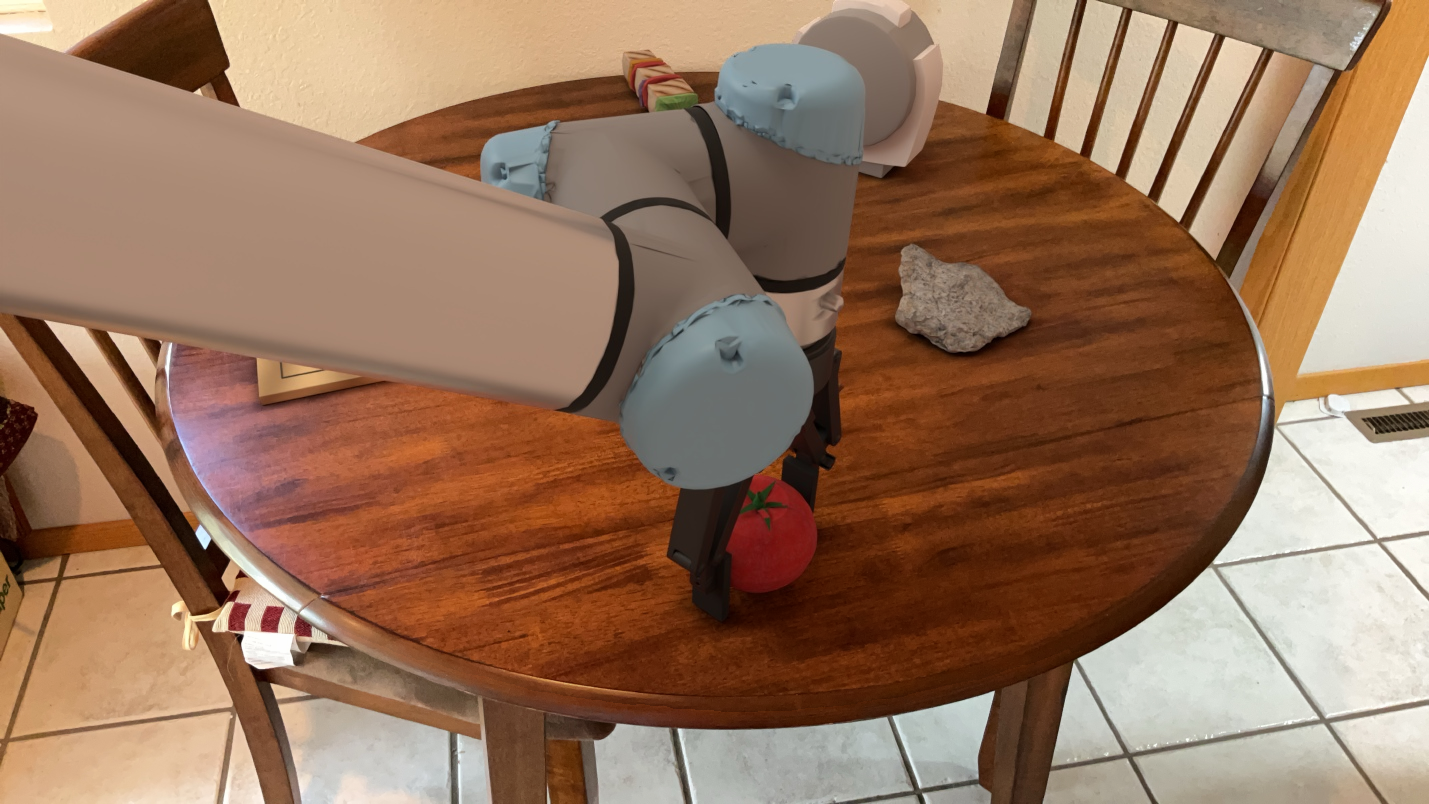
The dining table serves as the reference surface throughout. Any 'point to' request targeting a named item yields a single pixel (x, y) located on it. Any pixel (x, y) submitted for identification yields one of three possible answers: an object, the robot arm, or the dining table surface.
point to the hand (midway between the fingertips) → (753, 565)
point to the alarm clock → (885, 74)
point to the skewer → (656, 82)
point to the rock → (954, 303)
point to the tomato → (771, 537)
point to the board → (300, 381)
